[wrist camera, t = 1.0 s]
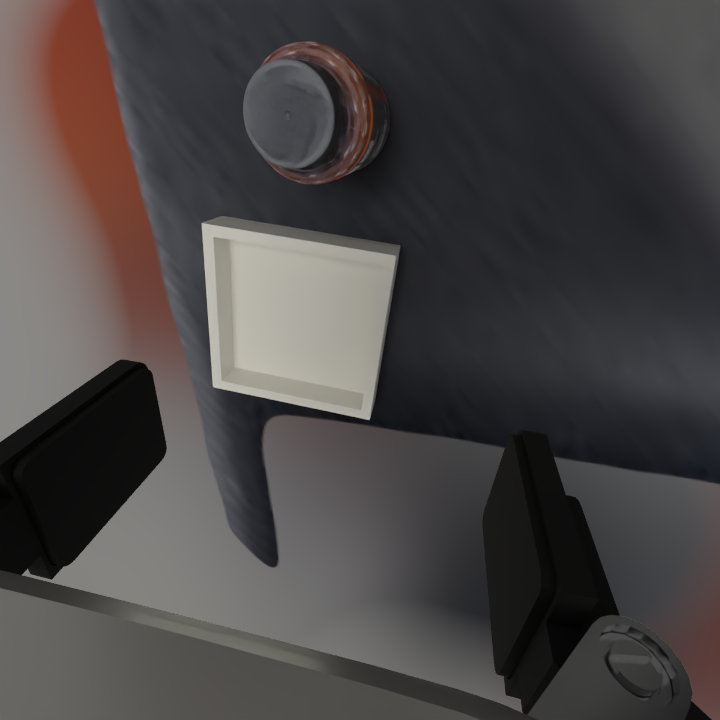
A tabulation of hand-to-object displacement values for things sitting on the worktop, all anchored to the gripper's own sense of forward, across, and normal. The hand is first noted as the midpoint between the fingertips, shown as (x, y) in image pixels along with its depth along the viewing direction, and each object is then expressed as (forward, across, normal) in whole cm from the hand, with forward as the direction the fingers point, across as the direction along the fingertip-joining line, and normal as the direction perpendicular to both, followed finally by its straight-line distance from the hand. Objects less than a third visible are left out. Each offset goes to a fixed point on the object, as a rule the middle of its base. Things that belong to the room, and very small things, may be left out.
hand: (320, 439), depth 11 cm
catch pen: (+22, +7, +7) cm, 24 cm away
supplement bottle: (+22, +5, -7) cm, 24 cm away
